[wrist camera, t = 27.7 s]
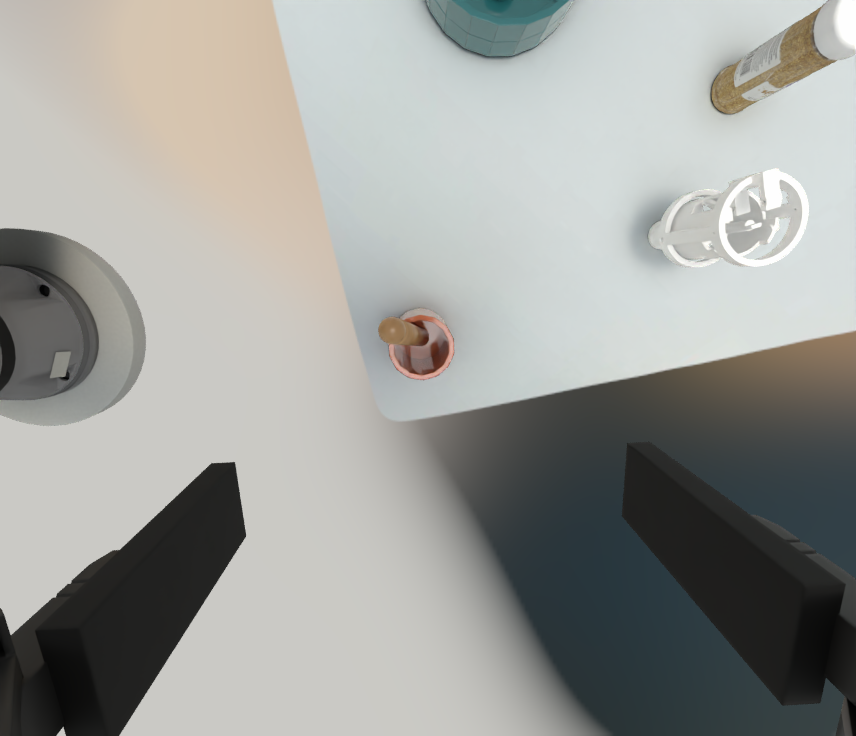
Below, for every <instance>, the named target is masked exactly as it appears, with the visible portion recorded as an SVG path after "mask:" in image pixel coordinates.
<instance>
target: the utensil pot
mask: <svg viewBox="0 0 856 736" xmlns="http://www.w3.org/2000/svg"><path fill="white" fill-rule="evenodd" d="M399 319H402V320H404V321H406V322H409V323H411V324H413V325H416V326H418V327H420V328H422V329H425V330H426V331H427V332H428V334H429V341H428V343H427V344H426V345H424V346H421V347H420V346H407V345H395V344H389V356H390V358H391V360H392V362H393V364H394V366H395V367H396V369H397V370H398V371H400V372H401V373H403V374H404V375H405V376H407V377H409V378H413V379H419V380H425V379H429V378H433V377H436V376H438V375H439V374H440V373H442V372H443V371H444V370H445V369H446V368H448V366H449V364H450V362H451V360H452V357H453V355H454V339H453V337H452V335H451V333H450V331H449V329H448V327H447V326H446V324H445V322H444V321H443V319H442V318H441V317H440V316H439V315H438V314H436V313H435V312H433V311H432V310H428V309H423V308H417V309H412V310H410V311H407V312H406V313H404V314H403V315H402V316H401V317H400V318H399Z"/></svg>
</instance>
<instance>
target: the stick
mask: <svg viewBox="0 0 856 736" xmlns="http://www.w3.org/2000/svg"><path fill="white" fill-rule="evenodd" d="M378 332H379V336H380V338H381V339H382V340H383V341H384V342H386V343H388V344H395V345H407V346H420V347H421V346H424V345H426V344H427V343H428V341H429V334H428V332H427V331H426V330H425V329H422V328H420V327H418V326H416V325H413V324H411V323H409V322H406V321H404V320H402V319H399V318H397V317H387V318H385V319H384V320H383V321H382V322H381V323H380V325H379V329H378Z"/></svg>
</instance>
